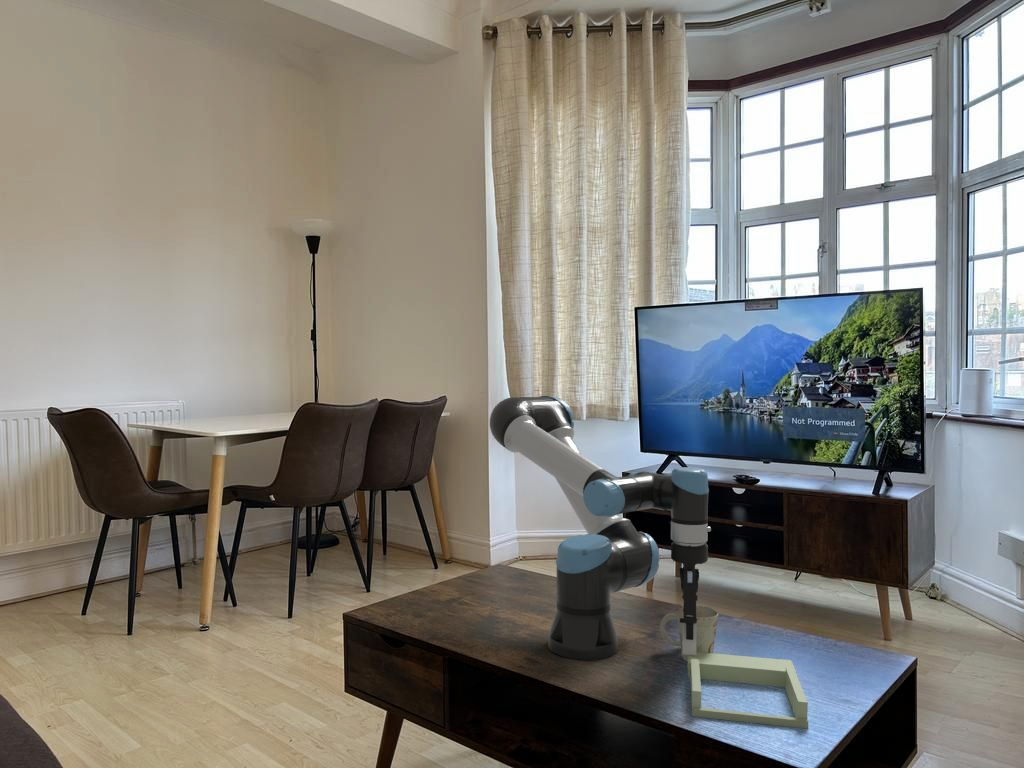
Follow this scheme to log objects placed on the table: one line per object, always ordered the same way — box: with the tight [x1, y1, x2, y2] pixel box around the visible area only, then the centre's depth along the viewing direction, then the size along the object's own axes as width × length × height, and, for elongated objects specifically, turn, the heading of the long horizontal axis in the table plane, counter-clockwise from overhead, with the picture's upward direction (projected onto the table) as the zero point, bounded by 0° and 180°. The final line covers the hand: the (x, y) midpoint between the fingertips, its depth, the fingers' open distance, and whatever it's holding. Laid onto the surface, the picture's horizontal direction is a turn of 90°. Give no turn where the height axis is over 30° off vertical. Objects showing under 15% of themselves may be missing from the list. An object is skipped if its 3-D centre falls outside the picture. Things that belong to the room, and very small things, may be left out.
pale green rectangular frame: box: [687, 652, 809, 729], centre depth 138 cm, size 20×22×4 cm
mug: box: [659, 604, 719, 663], centre depth 156 cm, size 8×13×10 cm, turn 58°
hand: (688, 643), depth 156 cm, fingers open, 13 cm apart
